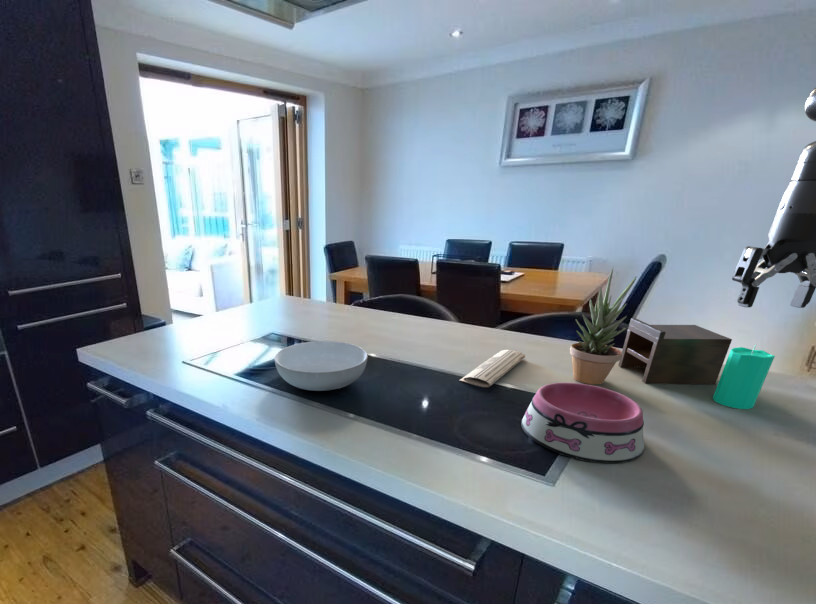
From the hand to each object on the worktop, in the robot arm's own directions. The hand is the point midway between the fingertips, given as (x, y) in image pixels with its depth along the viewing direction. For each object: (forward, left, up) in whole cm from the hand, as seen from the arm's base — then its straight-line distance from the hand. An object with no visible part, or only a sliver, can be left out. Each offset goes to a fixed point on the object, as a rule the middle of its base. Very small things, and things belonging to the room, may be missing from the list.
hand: (770, 306), depth 79 cm
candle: (0, 0, -19) cm, 19 cm away
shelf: (+4, -15, -19) cm, 24 cm away
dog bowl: (+35, +15, -19) cm, 43 cm away
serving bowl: (+82, -6, -19) cm, 85 cm away
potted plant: (+22, -11, -19) cm, 31 cm away
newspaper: (+41, -16, -19) cm, 48 cm away
